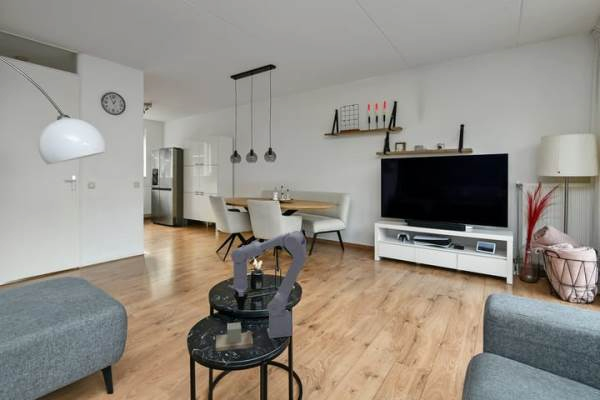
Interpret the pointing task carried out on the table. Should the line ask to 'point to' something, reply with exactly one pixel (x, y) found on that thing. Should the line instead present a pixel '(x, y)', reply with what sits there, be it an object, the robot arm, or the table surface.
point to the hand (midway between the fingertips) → (240, 306)
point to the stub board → (245, 343)
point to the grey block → (233, 332)
